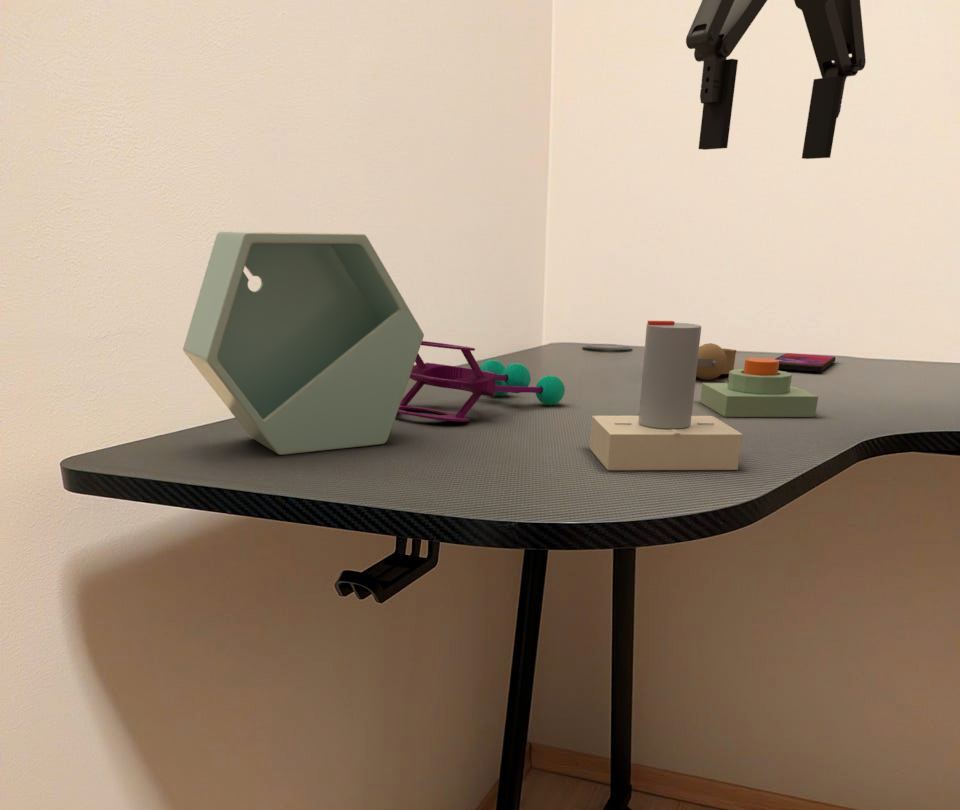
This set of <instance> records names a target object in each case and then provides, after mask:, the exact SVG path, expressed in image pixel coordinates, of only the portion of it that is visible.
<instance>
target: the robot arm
mask: <svg viewBox="0 0 960 810" xmlns="http://www.w3.org/2000/svg"><path fill="white" fill-rule="evenodd" d="M767 2H768V0H701V2H700V5H699V7H698V9H697V12H696V14H695V16H694V18H693V21H692V23H691V25H690V28H689V30H688V32H687V35H686V37H685V44H686V47H687V48H688V49H689V50H694V51H693V53H694V54H693V57H694V59H695V61H696V62H698V63H700V62H703V65H702V73H701V74H702V75H701V83H700V93H699V100H700V104H702V115H701V123H700V131H699V132H700V133H699V139H698V140H699V141H698V150H721V149H728V145H729V137H730V130H731V129H730V128H731V120H732V111H733V105H734V96H735V87H736V81H737V80H736V79H737V71H738V63H739V59H735V58H728V57H729V56H730V55H731V54H732V52H733V51H734V49H735V48H736V47H737V46H738V44H739V43H740V41H741V39H742V38H743V37H744V35H745V34H746V32H747V31H748V29H749V28H750V26H751V25H752V24H753V22H754V20H755V19H756V18H757V16H758V15H759V13H760V12H761V10H762V9H763V7H764V6H765V4H766V3H767ZM793 2H794V5H795V7H796V8H797V9H799V10H800V11H801V12H802V15H803V18H804V22H805V25H806V29H807V32H808V36H809V38H810V42H811V46H812V49H813V53H814V56H815V59H816V62H817V66H818V69H819V72H820V76H821V78H814V79H813V82H812V88H811V96H810V100H809V101H810V102H809V109H808V115H807V120H806V121H807V122H806V126H805V127H806V128H805V135H804V141H803V146H802V153H801V154H802V155H801V159H802V160H811V159H812V160H813V159H831V154H832V149H833V142H834V136H835V131H836V126H837V119H838V118H839V116H840V113H841V110H842V102H843V97H844V92H845V91H844V90H845V85H846V80H847V78H848V77H854V76H856V75H857V74H858V73H859V71H863V70H864V68H865V66H866V63H867V62H866V51H865V39H864V27H863V17H862V16H863V15H862V5H861V0H793ZM850 55H851V56H850Z"/></svg>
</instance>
